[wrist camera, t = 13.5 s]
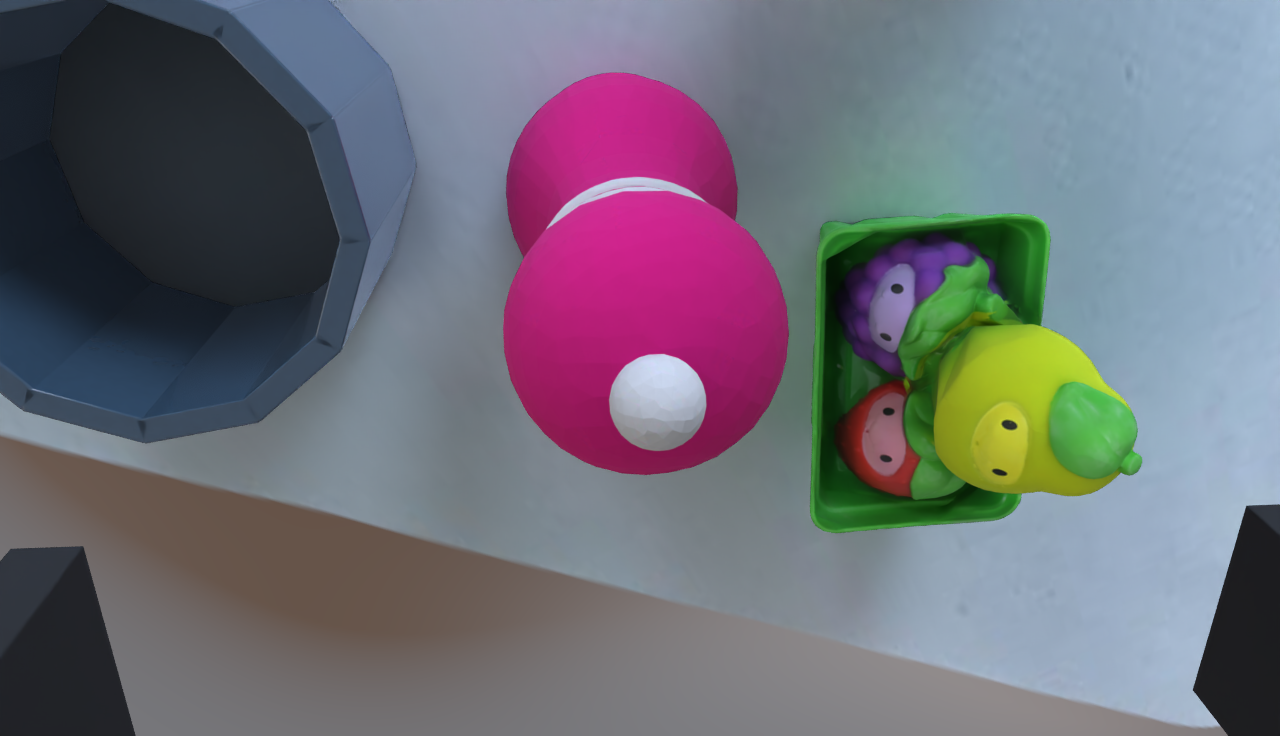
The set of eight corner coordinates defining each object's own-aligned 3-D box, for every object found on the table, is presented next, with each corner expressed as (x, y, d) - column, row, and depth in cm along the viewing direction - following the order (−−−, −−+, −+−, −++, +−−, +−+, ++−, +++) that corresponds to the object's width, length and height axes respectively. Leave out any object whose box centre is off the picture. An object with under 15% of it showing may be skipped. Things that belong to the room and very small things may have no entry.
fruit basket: (785, 189, 37) (867, 299, 27) (1028, 173, 37) (1202, 275, 27) (783, 465, 42) (853, 649, 31) (999, 449, 42) (1137, 626, 32)
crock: (201, -138, 32) (71, -153, 23) (486, 170, 36) (460, 248, 28) (-51, 131, 34) (-246, 202, 26) (242, 386, 39) (153, 515, 31)
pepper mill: (709, 44, 35) (862, 197, 16) (726, 248, 38) (870, 568, 19) (497, 70, 35) (413, 253, 16) (530, 272, 38) (491, 617, 19)
